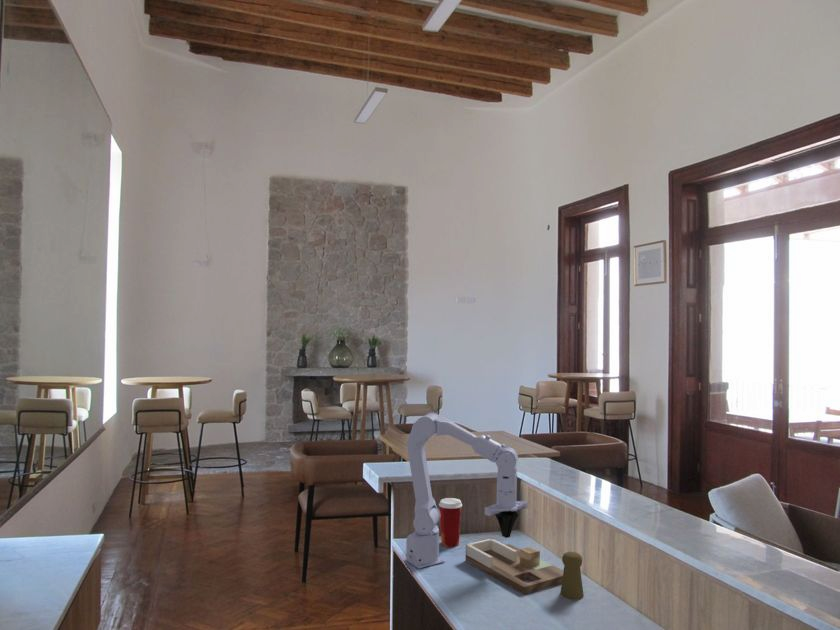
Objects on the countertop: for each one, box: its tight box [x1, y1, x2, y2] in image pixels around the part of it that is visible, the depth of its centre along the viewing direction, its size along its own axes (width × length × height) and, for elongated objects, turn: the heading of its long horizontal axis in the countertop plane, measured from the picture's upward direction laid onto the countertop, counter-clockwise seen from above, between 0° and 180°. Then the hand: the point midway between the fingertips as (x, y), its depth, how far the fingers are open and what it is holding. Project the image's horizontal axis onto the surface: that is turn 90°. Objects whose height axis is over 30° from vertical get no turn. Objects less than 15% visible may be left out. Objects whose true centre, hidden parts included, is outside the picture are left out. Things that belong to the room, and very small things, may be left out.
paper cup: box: [438, 497, 463, 548], centre depth 201 cm, size 8×8×14 cm
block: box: [519, 546, 541, 567], centre depth 181 cm, size 4×4×4 cm
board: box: [465, 543, 564, 595], centre depth 180 cm, size 17×26×2 cm, turn 32°
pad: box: [532, 558, 552, 570], centre depth 181 cm, size 6×7×2 cm
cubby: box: [465, 538, 517, 568], centre depth 185 cm, size 10×12×3 cm
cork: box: [559, 551, 585, 601], centre depth 165 cm, size 6×6×11 cm
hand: (505, 536), depth 181 cm, fingers closed
